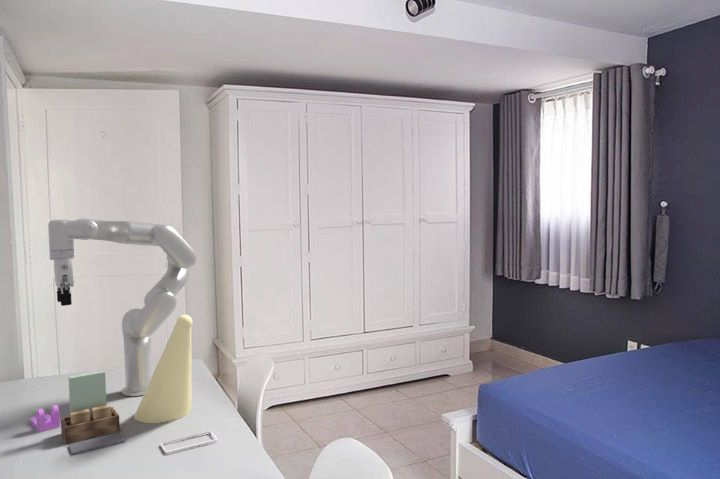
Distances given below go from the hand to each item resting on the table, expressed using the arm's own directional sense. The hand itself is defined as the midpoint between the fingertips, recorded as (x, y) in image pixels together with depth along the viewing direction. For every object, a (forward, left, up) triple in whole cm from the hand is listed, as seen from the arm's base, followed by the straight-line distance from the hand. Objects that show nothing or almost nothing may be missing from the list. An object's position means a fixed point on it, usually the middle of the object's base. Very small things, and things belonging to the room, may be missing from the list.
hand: (64, 303), depth 190 cm
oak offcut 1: (+1, +33, -37) cm, 49 cm away
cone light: (-26, +31, -37) cm, 55 cm away
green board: (-2, +29, -37) cm, 47 cm away
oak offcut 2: (-5, +33, -37) cm, 50 cm away
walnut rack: (-2, +31, -37) cm, 48 cm away
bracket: (+9, +14, -37) cm, 41 cm away
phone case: (-24, +58, -38) cm, 73 cm away
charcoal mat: (-2, +41, -37) cm, 55 cm away
